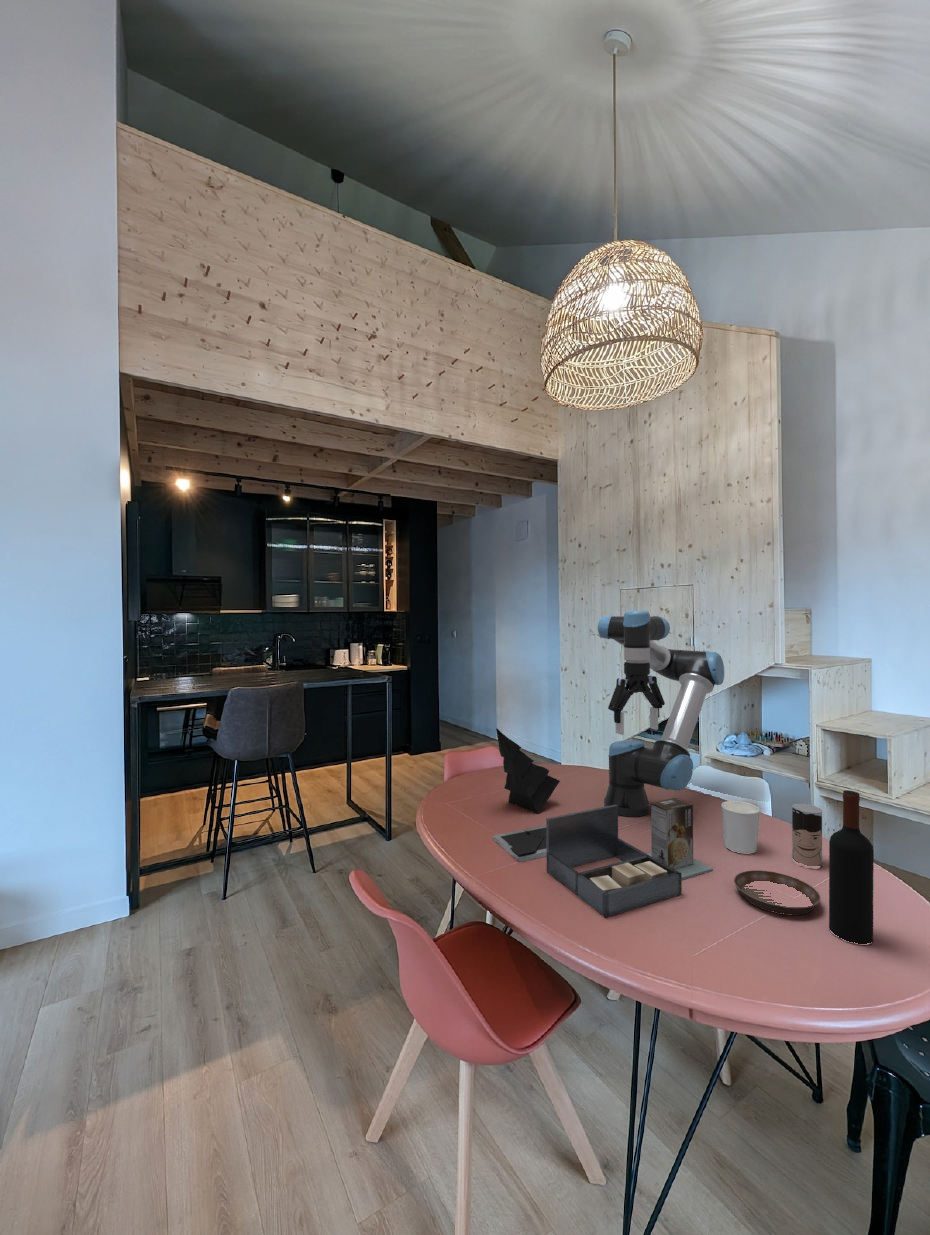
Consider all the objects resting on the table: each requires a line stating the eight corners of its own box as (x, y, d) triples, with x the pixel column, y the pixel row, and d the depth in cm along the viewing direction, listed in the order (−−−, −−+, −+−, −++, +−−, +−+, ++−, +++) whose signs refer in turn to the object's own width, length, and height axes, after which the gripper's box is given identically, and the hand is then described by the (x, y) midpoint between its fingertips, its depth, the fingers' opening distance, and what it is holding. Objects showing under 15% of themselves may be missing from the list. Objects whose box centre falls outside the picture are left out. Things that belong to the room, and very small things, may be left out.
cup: (786, 860, 146) (786, 806, 146) (802, 855, 149) (802, 802, 149) (811, 871, 140) (811, 814, 140) (827, 866, 143) (827, 810, 143)
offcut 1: (608, 893, 130) (608, 875, 130) (621, 906, 124) (621, 887, 124) (589, 896, 129) (589, 878, 129) (602, 910, 123) (602, 890, 123)
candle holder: (764, 848, 154) (764, 806, 154) (754, 859, 147) (754, 816, 147) (727, 838, 161) (727, 798, 160) (716, 849, 153) (716, 807, 153)
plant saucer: (721, 880, 136) (721, 868, 136) (792, 881, 136) (792, 869, 136) (756, 921, 118) (756, 907, 118) (838, 922, 118) (838, 908, 118)
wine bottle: (820, 924, 116) (820, 787, 116) (853, 923, 117) (853, 786, 117) (848, 946, 109) (848, 799, 108) (882, 944, 109) (883, 798, 109)
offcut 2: (649, 880, 136) (649, 861, 136) (667, 891, 131) (667, 871, 131) (634, 885, 134) (634, 865, 134) (651, 896, 129) (651, 875, 129)
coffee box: (675, 854, 149) (675, 797, 149) (694, 864, 143) (694, 804, 143) (650, 861, 145) (650, 802, 145) (668, 871, 139) (668, 810, 139)
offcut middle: (628, 886, 133) (628, 862, 133) (645, 898, 128) (645, 873, 128) (611, 891, 131) (611, 866, 131) (628, 903, 126) (628, 877, 126)
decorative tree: (512, 810, 193) (468, 740, 180) (535, 779, 201) (494, 710, 187) (542, 822, 182) (498, 748, 169) (566, 789, 189) (525, 716, 176)
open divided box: (615, 854, 151) (615, 804, 150) (681, 894, 129) (681, 836, 129) (546, 871, 141) (546, 818, 141) (605, 917, 120) (605, 855, 119)
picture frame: (519, 865, 146) (582, 850, 155) (519, 854, 146) (582, 841, 154) (493, 842, 161) (552, 830, 169) (493, 833, 161) (552, 821, 169)
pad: (671, 849, 153) (671, 847, 153) (713, 870, 141) (713, 868, 141) (634, 859, 148) (633, 857, 148) (673, 882, 135) (673, 880, 135)
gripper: (658, 658, 171) (658, 724, 172) (595, 662, 161) (596, 733, 161) (676, 660, 165) (677, 729, 165) (612, 664, 154) (613, 738, 154)
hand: (637, 731), depth 163 cm, fingers open, 13 cm apart
